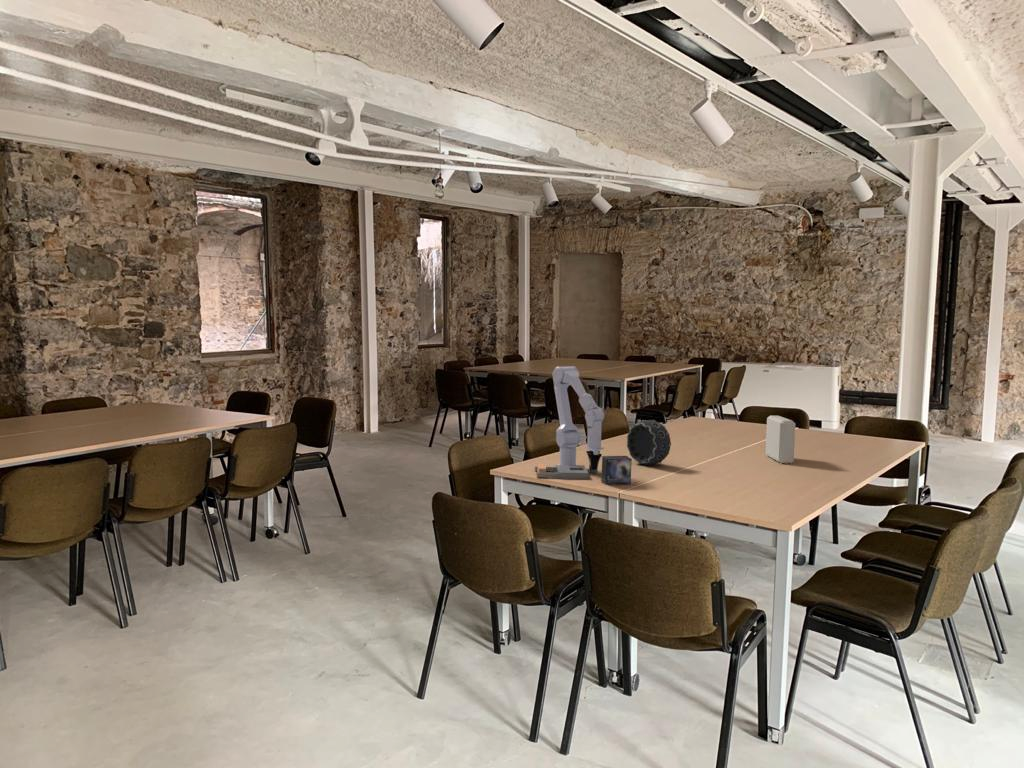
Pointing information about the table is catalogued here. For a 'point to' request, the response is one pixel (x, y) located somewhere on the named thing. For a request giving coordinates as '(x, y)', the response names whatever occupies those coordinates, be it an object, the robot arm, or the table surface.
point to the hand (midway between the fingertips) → (593, 468)
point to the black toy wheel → (648, 442)
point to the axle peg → (591, 469)
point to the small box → (616, 470)
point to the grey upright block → (780, 439)
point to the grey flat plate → (566, 472)
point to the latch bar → (541, 468)
